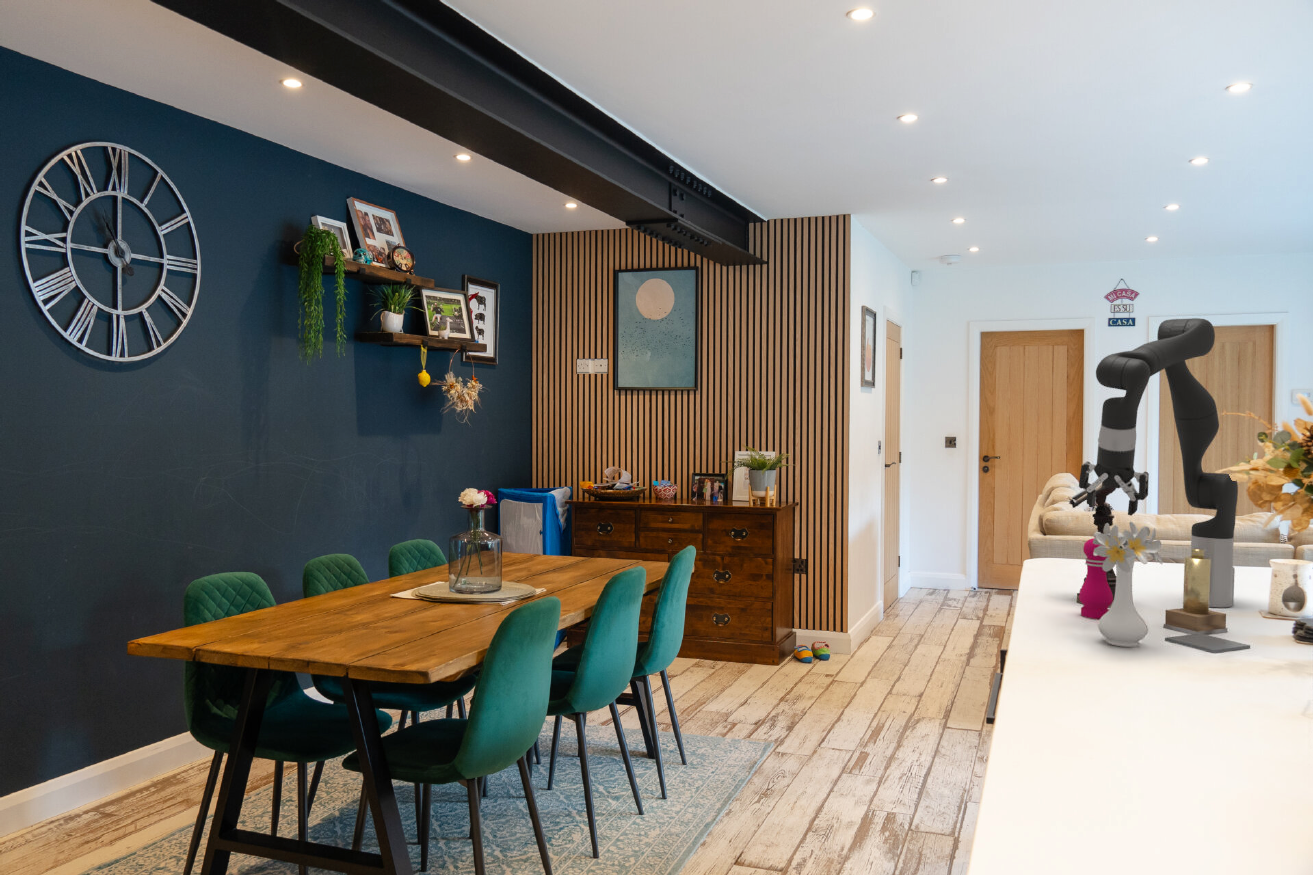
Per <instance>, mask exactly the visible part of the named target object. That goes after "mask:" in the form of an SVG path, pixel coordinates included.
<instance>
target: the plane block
mask: <svg viewBox="0 0 1313 875" xmlns="http://www.w3.org/2000/svg"><path fill="white" fill-rule="evenodd" d="M1164 618H1165V619H1164V620H1165V622H1164V623H1163V627H1162V628H1164V629H1167V630H1172V631H1175V632H1179V633H1184V634H1186V635H1191V634H1199V633H1201V634H1205V635H1213V634H1221V633H1228V627H1227V613H1223V612H1220V611H1215V610H1210V609H1209V614H1192V613H1187V612H1184V611H1183V607H1181V608H1173V609H1165V617H1164Z"/></svg>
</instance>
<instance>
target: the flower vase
mask: <svg viewBox="0 0 1313 875" xmlns="http://www.w3.org/2000/svg"><path fill="white" fill-rule="evenodd" d="M1128 524H1129V529H1130V531H1129V530H1127V529H1124V530H1123V533H1122V532H1119V530H1120V529H1119V526H1117V524H1113V525H1112V526H1109V524H1108V523H1106V524H1105V526H1104V530H1103V532H1104V534H1101V533H1100V534H1097V535H1096V538H1095V539H1094V540H1093V544H1097V545H1100V546H1099V547H1097V548H1095V549H1094V553H1093V555H1094V556H1098V555H1099V556H1102V557H1107V558H1106V559H1105V561H1104V563H1103V565H1102V568H1103V570H1104V571H1110V570H1111V569H1112V568H1113V569H1114V567H1115V569H1116V573H1115V575H1116V589H1115V597H1114V601H1113V604H1112V606H1111V608H1108V609H1109V611H1108V612H1107V613H1105V614H1104V615H1103V616H1102V617H1101V618H1100V619H1098V623H1097V628H1098V631H1099V633H1100V634H1101V635H1102V636H1104V638H1105V642H1106V643H1107V644H1109V645H1113V646H1115V647H1122V648H1136V647H1138V646H1139V644H1140V641H1141V640H1143V639H1144V638H1145V637H1146V636H1147V635H1148V632H1149V629H1148V625H1147V623H1146V621H1145V620H1144V619H1143V617H1142V616H1141V615H1140V614H1139V613H1138V611H1137V610H1136V607H1135V603H1134V599H1133V598H1134V597H1133V596H1134V595H1133V572H1134V570H1133V569H1134V566H1135V560H1136V558H1137V559H1138V561H1139V562H1140V563H1142V564H1143V565H1146V564H1148V562H1149V560H1148V556H1147V554H1149V555H1150V556H1151V557H1152V558H1153V559H1154V560H1155V562H1156V563H1159V564H1161V565H1163V559H1162V557H1161V555H1160V553H1159V551H1160V549H1161V548H1162V542H1161V540H1160V539H1156V536H1157V531H1156V528H1155V527H1154V528H1153V529H1152V532H1151V528H1150V527H1148V526H1143V527H1141V528H1139V530H1138V528H1137V526H1136V524H1135V523H1133V521H1129V523H1128ZM1111 527H1112V528H1111ZM1149 536H1150V537H1149ZM1148 537H1149V539H1148ZM1155 539H1156V540H1155Z"/></svg>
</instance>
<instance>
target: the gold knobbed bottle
mask: <svg viewBox="0 0 1313 875" xmlns="http://www.w3.org/2000/svg"><path fill="white" fill-rule="evenodd" d="M1210 563H1211V559H1209V558H1204V549H1196V548H1193V549H1192V554H1191V553H1190V556H1184V565H1183V566H1184V567H1183V568H1184V569H1183V593H1182V594H1183V595H1182V596H1183V598H1182V599H1183V600H1182V608H1183V611H1184V612H1187V613H1192V614H1209V610H1210V607H1209V592H1210Z"/></svg>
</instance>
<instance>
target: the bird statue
mask: <svg viewBox="0 0 1313 875" xmlns="http://www.w3.org/2000/svg"><path fill="white" fill-rule="evenodd" d="M1095 490H1096V500H1095V504H1097V506H1096V507H1095V513H1092V515H1091V516H1092V517H1093V525H1094V526H1096V527H1097V528H1096V529H1097V532H1100V533H1101V534H1104V532H1103V530H1104V526H1105V524H1106V523H1108V524H1109V526H1110V527H1113V526H1114V522H1113V520H1114V519H1115V515H1114V514H1112V509H1111V507H1110V506H1109V505H1107V504H1105V503H1106V501H1107V496H1109V495H1111V494H1112V493H1113V492H1115V491H1116V490H1117V488H1115V487H1112V486H1105V485H1104V484H1103V483H1101V484H1100V485H1099V486H1097V487H1096V488H1095ZM1067 498H1068V499H1069V502H1068V504H1069V505H1071V506H1072V509H1075V508H1076V507H1078V506H1079V505H1080V504H1082V503H1084V502H1085V501H1087V491H1086V490H1085V489H1083V490H1081V491H1079V492H1078V493H1076V494H1075V495H1073V496H1068V497H1067ZM1086 577H1087V574H1086V575H1085V577H1084V578H1083V584H1084V582H1085V580H1086ZM1106 578H1107V582H1108V585H1109V587H1110V589H1111V592H1112V595H1113V601H1114V597H1115V589H1116V573H1115V571H1114V567H1113V568H1112V569H1111V570H1110V571H1106ZM1083 584H1082V585H1081V587H1082V586H1083ZM1080 590H1081V588H1080V589H1079V591H1080ZM1079 594H1080V592H1077V593H1076V603H1077V604H1080V605H1081V604H1082V602H1081V601H1080V599H1079ZM1112 604H1113V602H1112ZM1112 604H1111V605H1110V606H1109V607H1108V609H1110V608H1111V606H1112ZM1082 605H1083V604H1082Z"/></svg>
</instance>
